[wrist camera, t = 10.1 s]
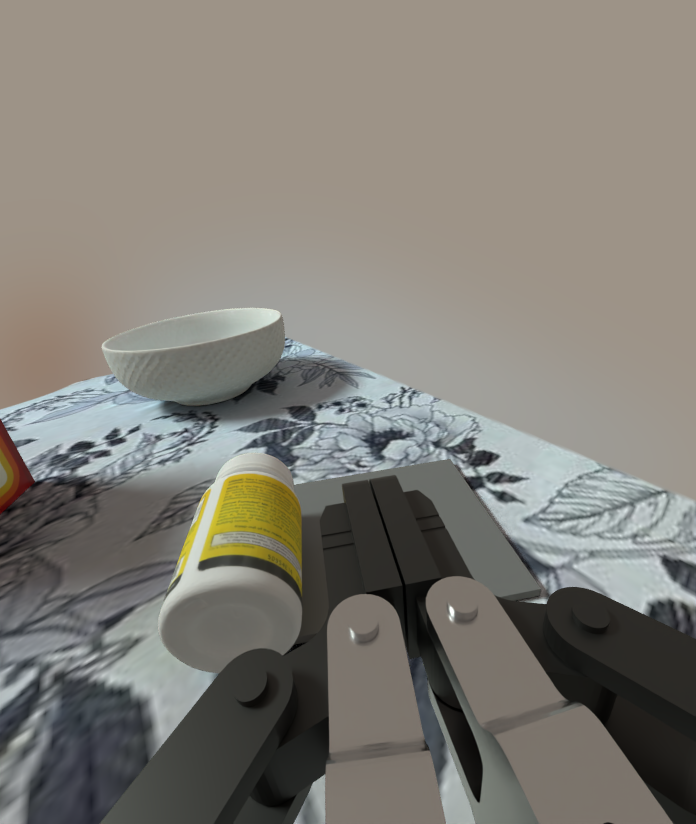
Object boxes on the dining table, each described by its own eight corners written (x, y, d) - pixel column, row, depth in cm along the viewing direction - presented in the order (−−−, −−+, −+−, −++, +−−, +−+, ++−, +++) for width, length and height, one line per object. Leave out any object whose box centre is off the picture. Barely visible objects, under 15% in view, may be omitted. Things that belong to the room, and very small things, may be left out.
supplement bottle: (329, 638, 14) (319, 490, 21) (241, 560, 12) (265, 427, 19) (220, 695, 14) (248, 532, 22) (120, 630, 12) (189, 476, 20)
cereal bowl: (299, 357, 49) (290, 300, 46) (283, 417, 34) (268, 338, 31) (166, 371, 49) (147, 315, 46) (91, 436, 34) (57, 360, 31)
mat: (539, 595, 16) (541, 588, 16) (195, 664, 15) (192, 657, 15) (449, 464, 25) (450, 459, 25) (229, 501, 24) (228, 495, 24)
